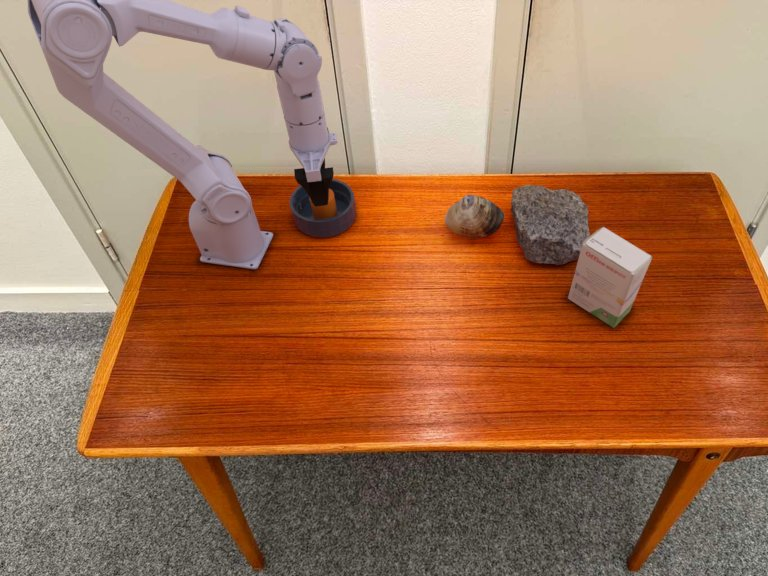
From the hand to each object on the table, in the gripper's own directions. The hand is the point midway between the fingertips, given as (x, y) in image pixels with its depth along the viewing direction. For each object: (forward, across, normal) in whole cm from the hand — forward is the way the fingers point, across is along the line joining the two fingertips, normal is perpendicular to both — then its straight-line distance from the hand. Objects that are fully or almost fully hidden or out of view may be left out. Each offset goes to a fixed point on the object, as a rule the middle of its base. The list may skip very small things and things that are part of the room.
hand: (319, 188), depth 100 cm
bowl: (+6, 0, 0) cm, 6 cm away
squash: (+6, 0, 0) cm, 6 cm away
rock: (+6, -11, -36) cm, 38 cm away
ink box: (+6, -26, -39) cm, 48 cm away
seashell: (+6, -8, -24) cm, 26 cm away
